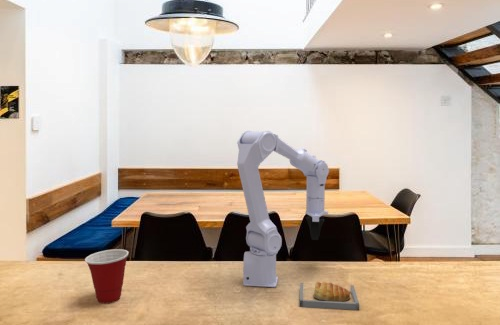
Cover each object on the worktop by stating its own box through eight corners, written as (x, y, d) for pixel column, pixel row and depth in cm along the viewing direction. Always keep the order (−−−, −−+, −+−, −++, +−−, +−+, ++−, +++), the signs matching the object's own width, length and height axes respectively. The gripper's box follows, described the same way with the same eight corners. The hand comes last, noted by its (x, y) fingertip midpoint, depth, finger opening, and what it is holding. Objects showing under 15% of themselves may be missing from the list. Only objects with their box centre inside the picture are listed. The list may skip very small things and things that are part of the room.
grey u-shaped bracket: (299, 306, 104) (299, 300, 104) (300, 287, 117) (300, 282, 117) (359, 310, 102) (359, 304, 102) (353, 290, 115) (353, 285, 115)
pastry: (350, 294, 113) (350, 281, 112) (349, 305, 106) (349, 290, 106) (315, 291, 115) (315, 278, 115) (312, 301, 108) (312, 287, 108)
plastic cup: (85, 294, 112) (84, 251, 111) (126, 289, 116) (126, 246, 115) (86, 310, 102) (85, 262, 101) (132, 303, 106) (131, 257, 105)
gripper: (329, 201, 125) (328, 245, 126) (327, 194, 139) (326, 234, 140) (305, 200, 126) (305, 245, 127) (305, 193, 140) (305, 233, 141)
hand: (314, 239), depth 133 cm, fingers closed
